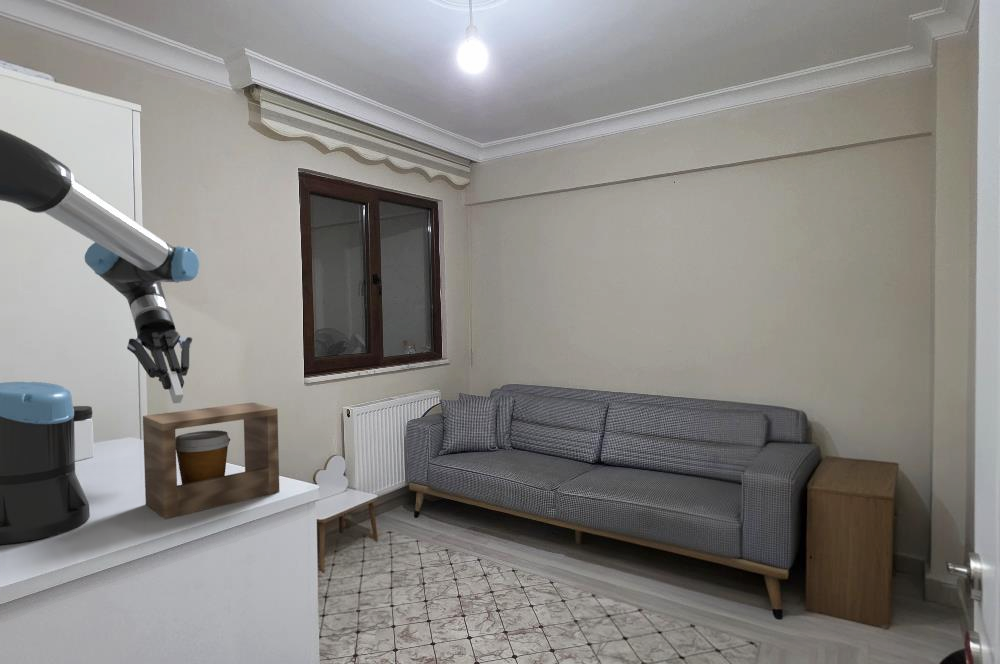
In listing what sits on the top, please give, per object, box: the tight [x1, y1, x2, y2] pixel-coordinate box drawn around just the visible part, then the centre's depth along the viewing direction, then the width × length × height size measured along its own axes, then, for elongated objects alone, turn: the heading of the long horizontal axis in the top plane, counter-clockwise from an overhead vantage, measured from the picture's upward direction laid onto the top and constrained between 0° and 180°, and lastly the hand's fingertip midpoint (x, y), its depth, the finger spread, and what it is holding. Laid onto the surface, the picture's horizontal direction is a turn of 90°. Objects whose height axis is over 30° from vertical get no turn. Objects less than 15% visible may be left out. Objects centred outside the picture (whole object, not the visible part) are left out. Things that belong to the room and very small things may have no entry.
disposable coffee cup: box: [176, 430, 231, 485], centre depth 109 cm, size 10×10×12 cm
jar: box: [73, 405, 95, 463], centre depth 140 cm, size 9×8×12 cm
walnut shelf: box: [142, 402, 280, 520], centre depth 110 cm, size 20×11×16 cm, turn 136°
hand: (178, 398), depth 123 cm, fingers closed
